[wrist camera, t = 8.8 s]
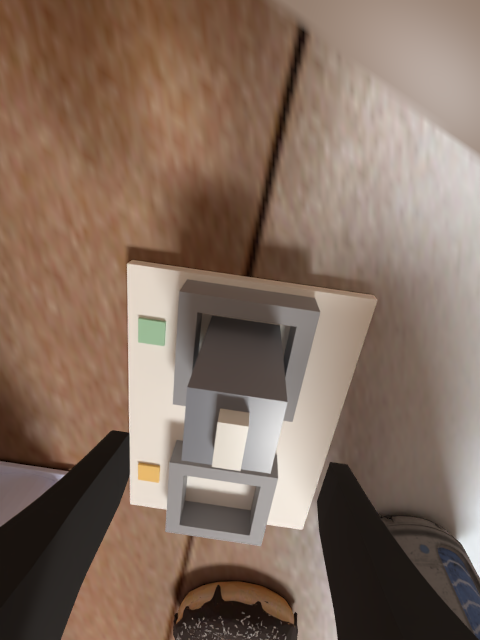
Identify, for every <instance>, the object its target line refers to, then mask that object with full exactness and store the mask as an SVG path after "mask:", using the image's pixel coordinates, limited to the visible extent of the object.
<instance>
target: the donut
mask: <svg viewBox="0 0 480 640" xmlns="http://www.w3.org/2000/svg"><path fill="white" fill-rule="evenodd" d="M297 634H298V628H297V613H296V612H295V613H294V615H293V612H292V610H291V608H290V606H289V605H288V603H287V602H286V600H285V599H284V598H282V597H281V596H280V595H278V594H277V593H275V592H273V591H271V590H269V589H267V588H265V587H263V586H260V585H255V584H251V583H246V582H240V581H229V582H215V583H210V584H206V585H203V586H201V587H199V588H197V589H195V590H193V591H191V592H189V593H188V594H187V596H186V597H185V598H184V600H183V601H182V603H181V605H180V608H179V610H178V613H176V614H175V619H174V626H173V635H174V638H175V640H297Z"/></svg>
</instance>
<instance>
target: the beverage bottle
mask: <svg viewBox="0 0 480 640" xmlns="http://www.w3.org/2000/svg"><path fill="white" fill-rule="evenodd" d="M391 518H392V519H387V518H386V517H385V518H381V519H382V520H383V522H384V523H385V525H386V526H387V528H388V529H389V531H390V532H391V534H392V535H393V537H394V538H395V539H396V541H397V542H398V544H399V545H400V546H401V548H402V549H403V550H404V552H405V553H406V555H407V556H408V557H409V559H410V560H411V561H412V563H413V564H414V565H415V566H416V568H417V569H418V570H419V572H420V573H421V574H422V575H423V577H424V578H425V579H426V580H427V582H428V583H429V584H430V585H431V586H432V588H433V589H434V590H435V591H436V593H437V594H438V595H439V596H440V597H441V598H442V599H443V601H444V602H445V603H446V604H447V605H448V606H449V608H450V609H451V610H452V611H453V612H454V613H455V614H456V615H457V616H458V617H459V618H460V620H461V621H462V622H463V623H464V624H465V625H466V626H467V627H468V628H469V629H470V630H471V631H472V633H473V634H474V635H475V636H476V637H477V638H478V639H479V640H480V578H479V576H478V574H477V572H476V570H475V569H474V567H473V565H472V563H471V561H470V559H469V557H468V555H467V553H466V552H465V550H464V548H463V546H462V545H461V543H460V542H459V541H458V540H456V539H455V538H454V537H453V536H452V535H451V534H450V533H448V532H447V531H446V530H445V529H443V528H442V527H441V526H439V525H437V524H434V523H433V522H431V521H428V520H425V519H422V518H417V517H409V516H392V517H391Z"/></svg>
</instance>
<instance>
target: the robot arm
mask: <svg viewBox="0 0 480 640" xmlns="http://www.w3.org/2000/svg"><path fill="white" fill-rule="evenodd" d="M129 475H130V433H128V432H121V431H114V430H112V431H111V432H109V433H108V434H107V435H106V436H105V438H104V439H103V440H102V441H100V442H99V443H98V444H97V445H96V446H95V447H94V448H93V449H92V450H91V451H90V452H89V453H88V454H87V455H86V456H85V457H84V458H83V459H82V460H81V461H80V462H79V463H78V464H77V465H75V466H74V467H73V468H72V469H71V470H70V471H63V470H57V469H50V468H43V467H37V466H30V465H23V464H16V463H10V462H3V461H0V640H61V637H62V635H63V632H64V629H65V626H66V624H67V621H68V618H69V616H70V613H71V611H72V608H73V605H74V603H75V600H76V597H77V595H78V592H79V590H80V587H81V585H82V583H83V580H84V578H85V576H86V573H87V571H88V569H89V567H90V565H91V563H92V561H93V559H94V556H95V554H96V552H97V550H98V548H99V546H100V544H101V542H102V540H103V538H104V535H105V533H106V531H107V529H108V527H109V525H110V523H111V521H112V519H113V516H114V514H115V512H116V510H117V508H118V506H119V504H120V501H121V498H122V495H123V493H124V490H125V487H126V484H127V481H128V478H129ZM317 507H318V521H319V532H320V538H321V544H322V549H323V555H324V560H325V565H326V571H327V576H328V581H329V586H330V592H331V597H332V602H333V608H334V614H335V620H336V627H337V637H338V640H479V639H478V638H477V637H476V636H475V635H474V634H473V633H472V631H471V630H470V629H469V628H468V627H467V626H466V625H465V624H464V623H463V622H462V621H461V620H460V618H459V617H458V616H457V615H456V614H455V613H454V612H453V611H452V610H451V609H450V608H449V606H448V605H447V604H446V603H445V602H444V601H443V599H442V598H441V597H440V596H439V595H438V594H437V593H436V591H435V590H434V589H433V588H432V586H431V585H430V584H429V583H428V582H427V580H426V579H425V578H424V577H423V575H422V574H421V573H420V572H419V570H418V569H417V568H416V566H415V565H414V564H413V563H412V561H411V560H410V559H409V557H408V556H407V555H406V553H405V552H404V550H403V549H402V548H401V546H400V545H399V544H398V542H397V541H396V539H395V538H394V537H393V535H392V534H391V532H390V531H389V529H388V528H387V526H386V525H385V523H384V522H383V520H382V519H381V517H380V516H379V514H378V513H377V511H376V510H375V508H374V507H373V505H372V504H371V502H370V500H369V499H368V497H367V496H366V494H365V492H364V491H363V489H362V488H361V486H360V484H359V483H358V481H357V479H356V478H355V476H354V474H353V473H352V471H351V469H350V468H349V466H348V465H346V464H339V463H332V462H330V464H329V467H328V470H327V473H326V476H325V479H324V482H323V485H322V488H321V491H320V494H319V497H318V500H317Z"/></svg>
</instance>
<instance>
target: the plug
mask: <svg viewBox="0 0 480 640" xmlns="http://www.w3.org/2000/svg"><path fill="white" fill-rule="evenodd" d="M287 403H288V401H287V391H286V380H285V370H284V360H283V350H282V340H281V330H280V325H274V324H267V323H260V322H254V321H247V320H240V319H233V318H226V317H220V316H213V315H212V317H211V320H210V323H209V326H208V329H207V332H206V335H205V337H204V340H203V343H202V346H201V349H200V352H199V355H198V358H197V360H196V363H195V366H194V369H193V372H192V375H191V378H190V380H189V383H188V386H187V396H186V408H185V421H184V434H183V447H182V461H189V462H196V463H202V464H209V465H212V467H216V468H223V469H230V470H236V471H241V469H243V470H249V471H256V472H263V473H269V474H271V470H272V465H273V461H274V457H275V453H276V449H277V444H278V440H279V436H280V432H281V428H282V424H283V419H284V415H285V411H286V407H287Z"/></svg>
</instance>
